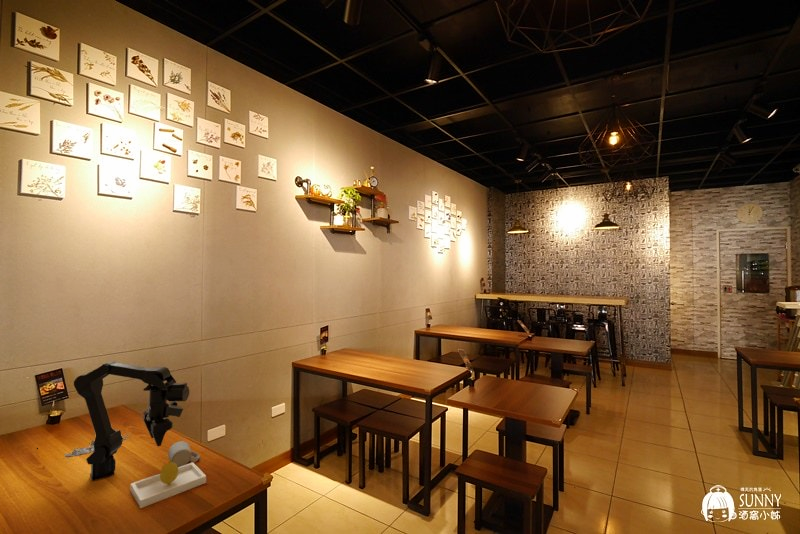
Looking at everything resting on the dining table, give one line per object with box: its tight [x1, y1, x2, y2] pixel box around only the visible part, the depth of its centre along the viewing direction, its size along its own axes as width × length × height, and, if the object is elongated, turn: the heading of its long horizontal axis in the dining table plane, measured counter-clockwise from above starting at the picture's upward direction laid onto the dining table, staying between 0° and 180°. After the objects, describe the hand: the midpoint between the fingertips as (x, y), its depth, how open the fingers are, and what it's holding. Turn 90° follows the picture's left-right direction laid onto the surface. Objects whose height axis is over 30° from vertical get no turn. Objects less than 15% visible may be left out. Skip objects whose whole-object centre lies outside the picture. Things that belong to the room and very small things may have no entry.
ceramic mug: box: [167, 440, 200, 467], centre depth 147 cm, size 11×8×8 cm
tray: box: [130, 461, 207, 509], centre depth 130 cm, size 20×14×2 cm
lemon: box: [159, 461, 178, 485], centre depth 130 cm, size 6×6×8 cm
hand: (156, 441), depth 139 cm, fingers open, 9 cm apart
